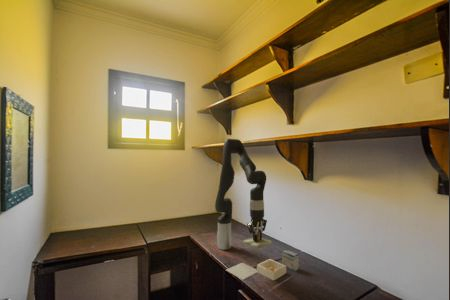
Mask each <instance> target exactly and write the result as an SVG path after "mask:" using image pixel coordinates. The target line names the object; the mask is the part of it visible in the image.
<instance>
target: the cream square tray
mask: <svg viewBox="0 0 450 300" xmlns="http://www.w3.org/2000/svg"><path fill="white" fill-rule="evenodd" d="M270 266H272V267H274V271H271V270H269V267H270ZM256 270H257V273H258V274H260V275H262V276H263V277H265V278H267V279H269V280H272V281H276V280H278V279H279V278H282V277H283V276H284V275H286V274H287V268H286V265H283V264H282V262H278V261H276V260H273V259H272V258H269V259H266V260H264V261H262V262H260V263H258V264H256Z"/></svg>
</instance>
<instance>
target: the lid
mask: <svg viewBox="0 0 450 300" xmlns="http://www.w3.org/2000/svg"><path fill="white" fill-rule="evenodd" d="M242 242H243V244H246V245H249V246H251V247H254V248H256V249H260V248H263V247H265V246H268V245H271V244H273V240H270V239H267V238H264V237H262V240H260V232H258V231H257V241H256V242H255V241H253V236H252V237H249V238H247V239H244V240H242Z"/></svg>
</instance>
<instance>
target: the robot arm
mask: <svg viewBox="0 0 450 300" xmlns="http://www.w3.org/2000/svg"><path fill="white" fill-rule="evenodd" d="M222 150H223V151H222V161H221V162H222V164H221V169H220V170H221V171H220V175H219V176H220V177H219V184H218V191H217V195H216V197H215V203H214V208H215V212H216V213H219V214H220V213H221V214H222V215H220V216H218V217H217V232H216V246H217V248H218V249H219V250H223V251H225V250H229V249H231V248H232V220H233V219H232V218H233V201H232V199H231V198H229V197H225V196H226V194H227V192H228V191H229V190H230V189H231V187H232V186H233V185H234V180H235V174H236V173H235V169H234V167H233V165H232V162H231V154H237V155H239V160H238V161H239V165H240V167H241V169H242V171H244V173H245V178H246V181H247V182H248V183H249V185H255V187H253V188H251V189H250V191H249V192H250V193H249V194H250V196H249V197H250V202H249V216H250V222H249V223H246V226H247V228H248V231H249V234H251V235H252V237H253V241H255V242H256V241H257V232H260V240H262V238H263V232H265V231H266V226H267V223H268V220H267V219H264V217H265V202H264V191H265V187H266V183H267V175H266V172H265V171H263V170H257V166H256V165H255V163H254V161H253V160H252V159H251V158H250V156H249V155H248V152H247V150H246V148H245V147H244V144H243V142H242V141H241V140H240V139H236V138H226V139H225V141H224V142H223V149H222Z"/></svg>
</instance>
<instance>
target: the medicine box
mask: <svg viewBox="0 0 450 300" xmlns="http://www.w3.org/2000/svg"><path fill="white" fill-rule="evenodd" d="M281 257H282V258H281V260H282V261H281V264H283V265H286V269H288V270H291V271H293V272H296V271H297V270H299V253H297V252H295V251H291V250H288V249H285V250H283V251H282V256H281Z"/></svg>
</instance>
